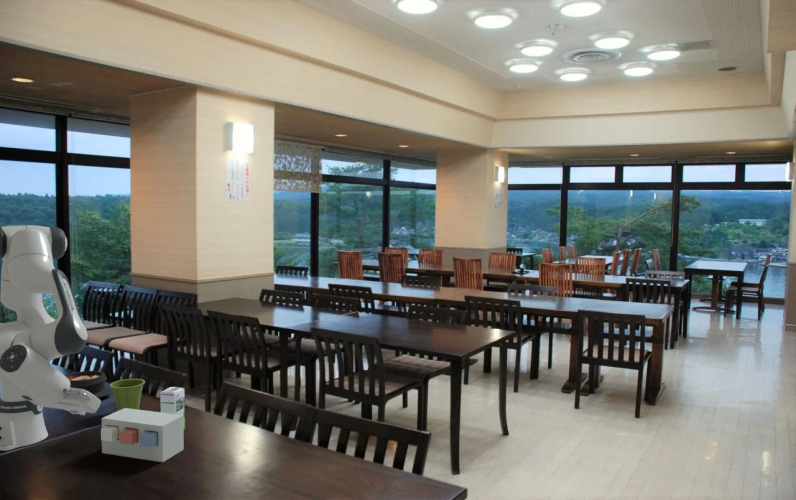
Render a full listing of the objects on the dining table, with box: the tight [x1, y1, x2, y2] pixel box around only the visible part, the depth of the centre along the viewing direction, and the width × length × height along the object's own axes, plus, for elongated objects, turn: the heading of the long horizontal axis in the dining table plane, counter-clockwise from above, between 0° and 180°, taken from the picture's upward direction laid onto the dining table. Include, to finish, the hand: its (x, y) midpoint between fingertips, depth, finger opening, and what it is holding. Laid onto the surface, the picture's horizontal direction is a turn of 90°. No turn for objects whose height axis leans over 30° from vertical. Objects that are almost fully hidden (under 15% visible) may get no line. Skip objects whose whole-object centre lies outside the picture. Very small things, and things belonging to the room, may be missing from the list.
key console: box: [101, 408, 185, 463], centre depth 182 cm, size 22×10×11 cm, turn 75°
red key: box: [120, 428, 139, 445], centre depth 176 cm, size 4×3×4 cm
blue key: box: [140, 431, 158, 447], centre depth 174 cm, size 4×3×4 cm
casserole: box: [64, 370, 113, 399], centre depth 235 cm, size 25×19×8 cm
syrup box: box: [159, 386, 186, 430], centre depth 199 cm, size 6×6×14 cm
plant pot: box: [109, 378, 146, 412], centre depth 216 cm, size 12×12×11 cm
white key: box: [100, 426, 119, 442], centre depth 178 cm, size 4×3×4 cm
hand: (80, 412), depth 166 cm, fingers closed
